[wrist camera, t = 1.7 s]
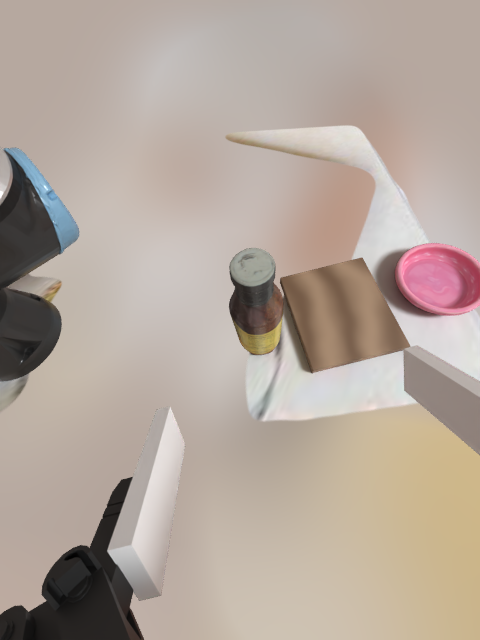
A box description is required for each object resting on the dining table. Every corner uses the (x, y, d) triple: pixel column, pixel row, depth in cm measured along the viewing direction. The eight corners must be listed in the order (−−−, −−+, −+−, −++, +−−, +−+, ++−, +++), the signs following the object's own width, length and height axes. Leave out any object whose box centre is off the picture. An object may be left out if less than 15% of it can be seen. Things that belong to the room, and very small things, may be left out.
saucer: (406, 327, 39) (416, 318, 36) (378, 261, 44) (386, 249, 42) (490, 315, 39) (508, 305, 36) (452, 249, 44) (465, 236, 41)
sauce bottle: (245, 316, 42) (228, 227, 24) (283, 324, 41) (295, 236, 23) (234, 354, 40) (207, 285, 22) (274, 363, 39) (280, 299, 21)
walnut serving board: (311, 373, 38) (313, 370, 36) (280, 282, 44) (280, 277, 43) (405, 349, 38) (410, 346, 36) (359, 263, 44) (362, 257, 43)
